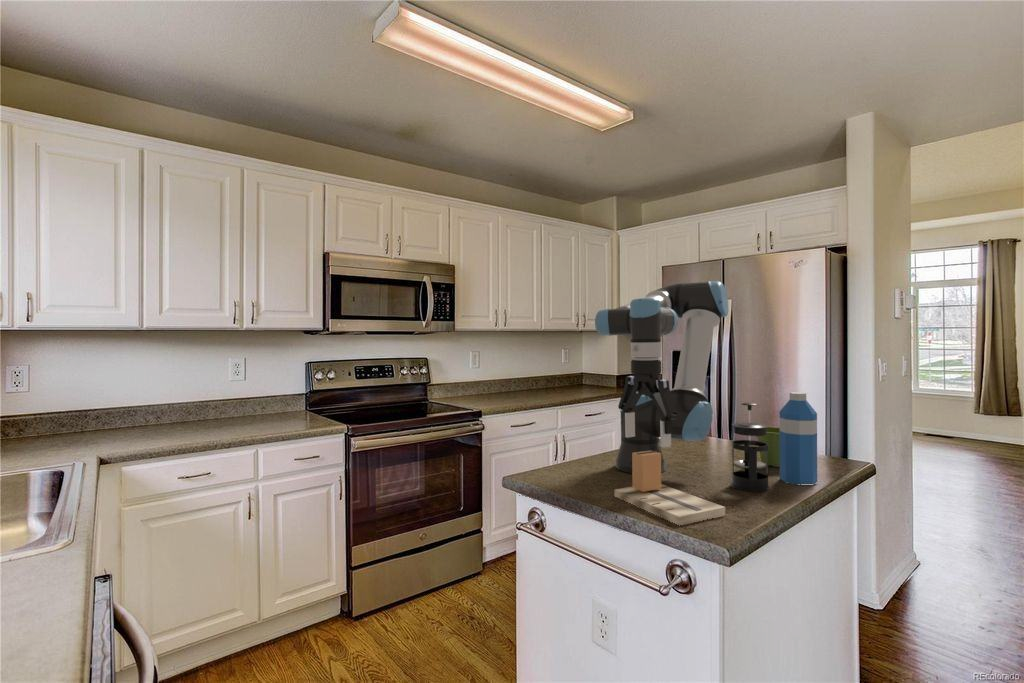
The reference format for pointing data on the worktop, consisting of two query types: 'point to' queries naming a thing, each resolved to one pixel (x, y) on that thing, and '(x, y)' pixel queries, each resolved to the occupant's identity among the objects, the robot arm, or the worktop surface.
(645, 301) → the robot arm
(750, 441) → the french press
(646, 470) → the block
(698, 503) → the fader board
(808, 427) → the water bottle
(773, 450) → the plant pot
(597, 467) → the worktop surface
